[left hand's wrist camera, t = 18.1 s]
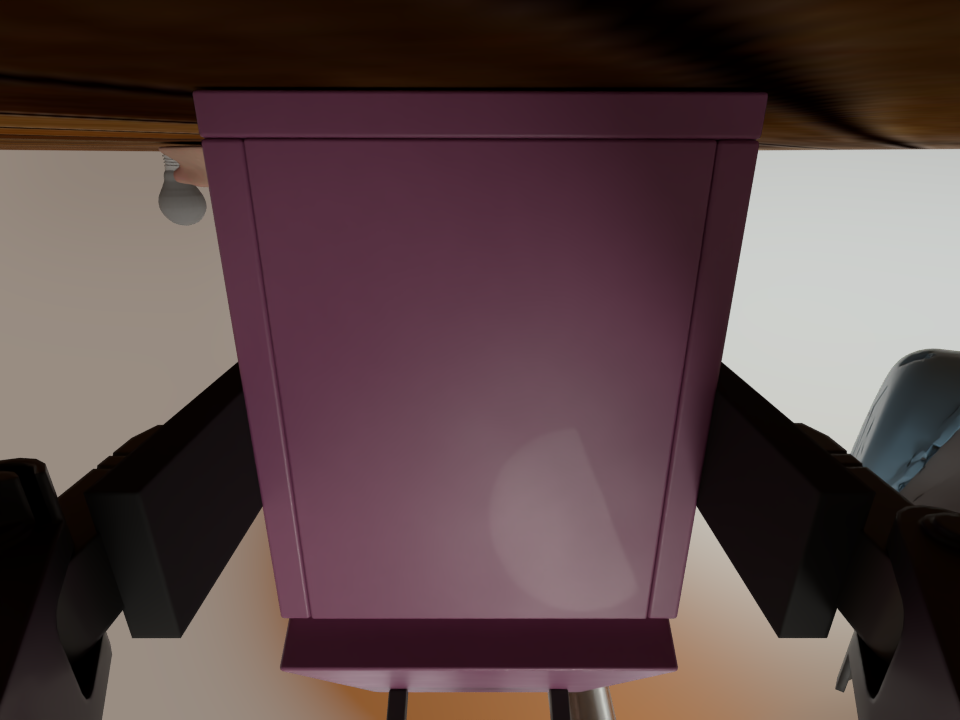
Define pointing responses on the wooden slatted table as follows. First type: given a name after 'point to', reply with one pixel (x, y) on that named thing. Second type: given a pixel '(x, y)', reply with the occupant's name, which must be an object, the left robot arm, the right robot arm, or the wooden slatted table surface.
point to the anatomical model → (188, 164)
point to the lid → (478, 655)
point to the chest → (479, 338)
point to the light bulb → (180, 198)
